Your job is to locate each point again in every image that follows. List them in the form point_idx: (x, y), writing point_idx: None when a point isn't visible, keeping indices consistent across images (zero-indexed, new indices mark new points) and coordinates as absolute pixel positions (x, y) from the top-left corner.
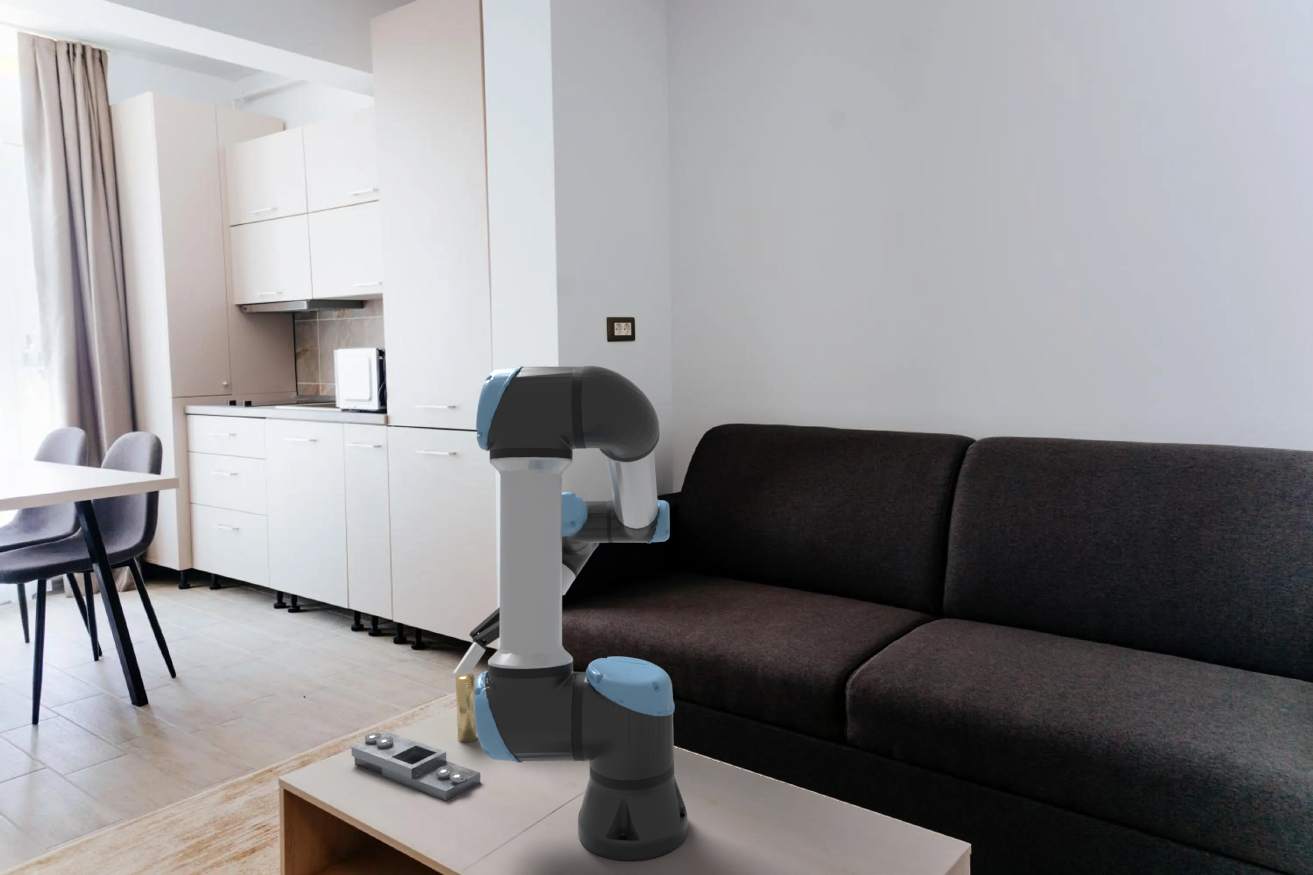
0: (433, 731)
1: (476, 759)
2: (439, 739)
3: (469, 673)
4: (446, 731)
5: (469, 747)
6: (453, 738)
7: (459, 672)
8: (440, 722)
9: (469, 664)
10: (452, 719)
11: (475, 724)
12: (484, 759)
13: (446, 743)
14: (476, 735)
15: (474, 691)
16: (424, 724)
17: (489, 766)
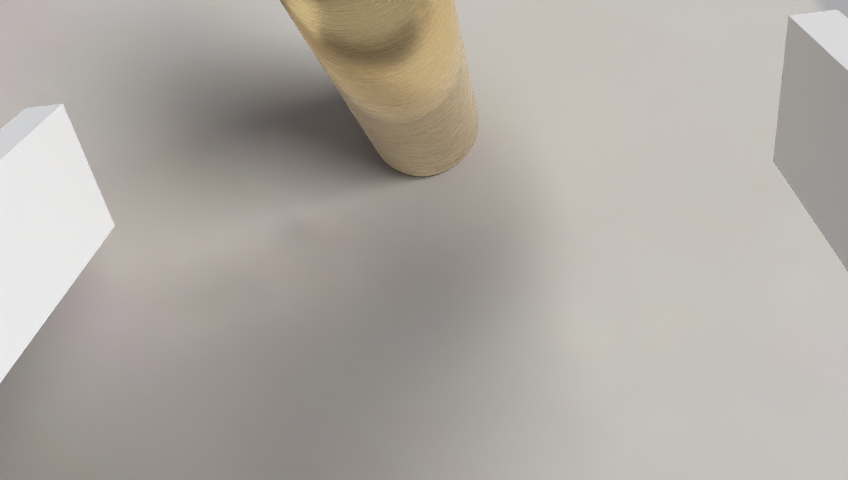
0: (668, 21)
1: (179, 63)
2: (535, 8)
3: (800, 198)
4: (616, 80)
5: (327, 93)
6: (495, 73)
7: (797, 68)
8: (777, 104)
9: (838, 174)
10: (776, 182)
11: (362, 127)
12: (151, 94)
13: (459, 18)
14: (383, 157)
15: (299, 28)
16: None
17: (71, 80)
